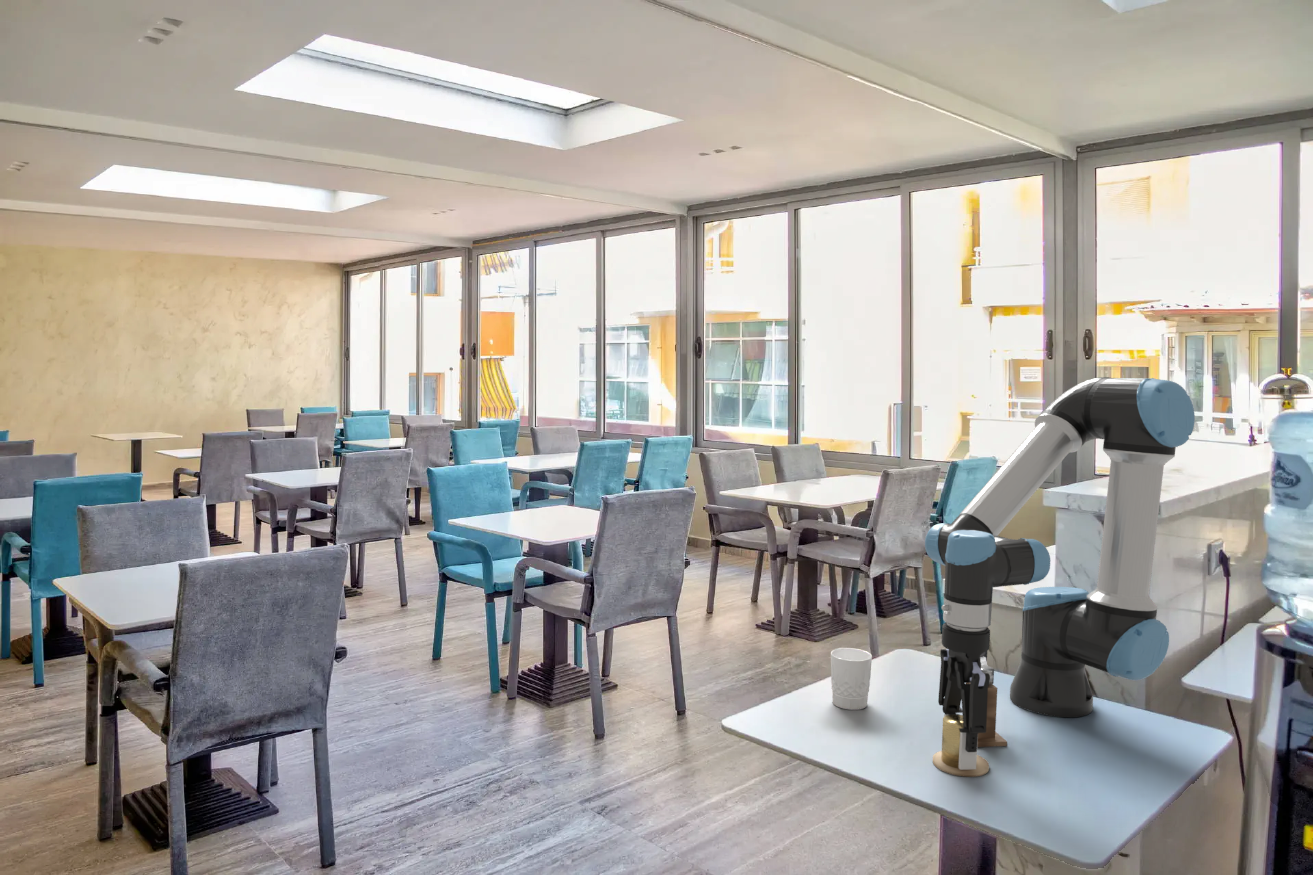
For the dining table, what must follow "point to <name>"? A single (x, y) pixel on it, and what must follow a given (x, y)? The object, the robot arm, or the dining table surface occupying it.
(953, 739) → the brass cylinder
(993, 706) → the post
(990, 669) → the lever
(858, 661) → the white cup
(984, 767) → the coaster
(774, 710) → the dining table surface
